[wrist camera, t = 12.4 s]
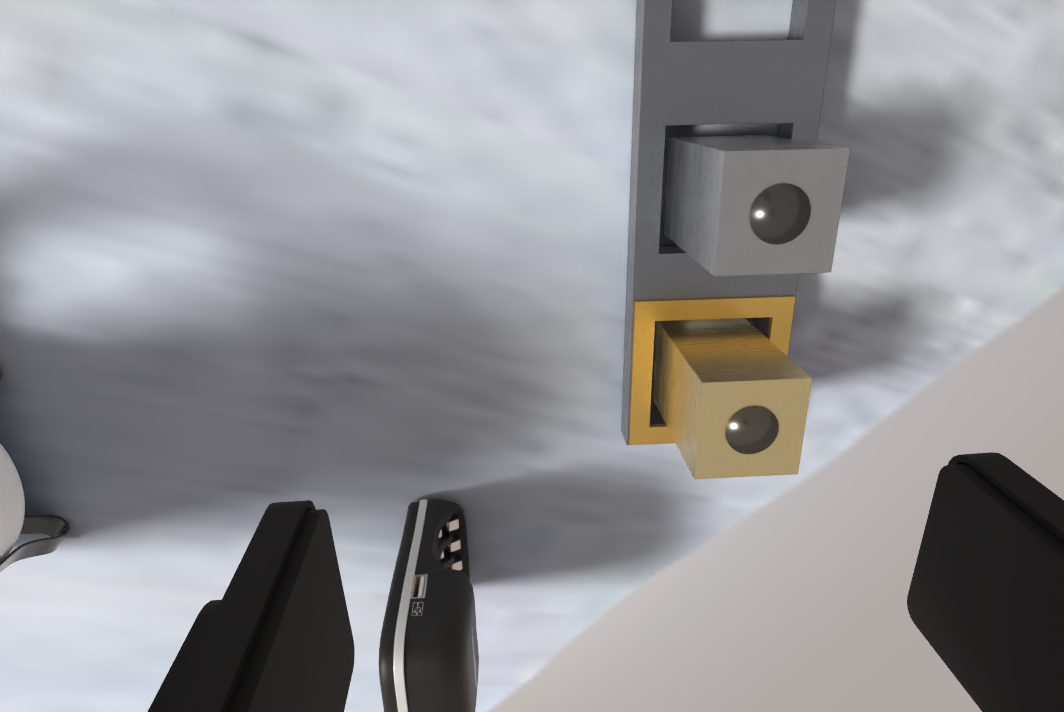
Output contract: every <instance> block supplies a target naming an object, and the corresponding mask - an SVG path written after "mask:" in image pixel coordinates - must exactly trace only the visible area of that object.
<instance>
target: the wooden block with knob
mask: <svg viewBox="0 0 1064 712" xmlns="http://www.w3.org/2000/svg"><path fill="white" fill-rule="evenodd" d="M811 383H812V378H811V377H810V376H809V375H808V374H807V373H806V372H805V371H804V370H802V369H801V368H800V367H799V366H798V365H797V364H796V363H795V362H793V361H792V360H791V359H790V358H789V357H788V356H787V355H786V354H785V353H783V352H782V351H781V350H780V349H779V348H778V347H777V346H776V345H774V344H773V343H772V342H771V341H770V340H769V339H768V338H767V337H765V336H764V335H763V334H762V333H761V332H760V331H759V330H758V329H757V328H755V327H754V326H753V325H752V324H751V323H750V322H749V321H748V320H746V319H745V318H730V319H701V320H671V321H657V324H656V344H655V364H654V384H653V400H654V402H655V404H656V406H657V408H658V410H659V412H660V414H661V416H662V418H663V419H664V421H665V423H666V425H667V427H668V429H669V431H670V433H671V435H672V437H673V439H674V441H675V443H676V445H677V447H678V448H679V450H680V452H681V454H682V456H683V458H684V460H685V462H686V464H687V466H688V468H689V470H690V472H691V474H692V475H693V477H694V479H707V478H728V477H749V476H770V475H791V474H798V470H799V464H800V457H801V450H802V443H803V437H804V430H805V423H806V416H807V410H808V403H809V396H810V389H811Z"/></svg>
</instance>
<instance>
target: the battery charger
mask: <svg viewBox="0 0 1064 712" xmlns="http://www.w3.org/2000/svg"><path fill="white" fill-rule="evenodd" d="M469 579H470V575H469V558H468V546H467V531H466V521H465V515H464V511H463V509H462V508H461V507H460V506H459V505H457V504H455V503H452V502H447V501H439V500H438V501H428V500H427V499H426V500H420V501H418V502H412V503H410V505H409V507H408V512H407V517H406V522H405V527H404V532H403V536H402V541H401V545H400V549H399V553H398V557H397V561H396V566H395V570H394V574H393V579H392V583H391V588H390V593H389V597H388V602H387V607H386V612H385V617H384V622H383V627H382V633H381V639H380V648H379V676H380V685H381V692H382V699H383V706H384V712H475V707H476V696H477V683H478V665H479V656H478V642H477V633H476V615H475V600H474V592H473V587H472V585H471V583H470V580H469Z"/></svg>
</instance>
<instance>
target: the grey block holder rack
mask: <svg viewBox="0 0 1064 712" xmlns="http://www.w3.org/2000/svg"><path fill="white" fill-rule="evenodd" d="M835 2H836V0H793V4H792V13H791V22H790V31H789V39H788V40H757V41H698V42H670V34H671V15H672V0H637V12H636V40H635V67H634V95H633V123H632V151H631V178H630V206H629V234H628V262H627V289H626V317H625V345H624V373H623V400H622V428H621V431H622V433H623V436H624V439H625V441H626V444H627V445H642V444H667V443H675V441H674V439H673V437H672V435H671V433H670V431H669V429H668V427H667V425H666V423H665V421H664V419H663V418H662V416H661V414H660V412H659V410H652V411H650V406H651V387H652V369H653V350H654V332H655V321H671V320H701V319H730V318H757V320H756V328H757V329H758V330H759V331H760V332H761V333H762V334H763V335H764V336H765V337H767V338H768V339H769V340H770V341H771V342H772V343H773V344H774V345H776V346H777V347H778V348H779V349H780V350H781V351H782V352H783V353H785V354H786V355H787V356H788V349H789V342H790V334H791V327H792V320H793V312H794V305H795V298H796V290H797V283H798V275H799V273H794V274H762V275H730V276H713V275H712V274H711V273H710V272H709V271H707V270H706V269H705V268H704V267H703V266H701V265H700V264H699V263H698V262H697V261H695V260H694V259H693V258H692V257H691V256H689V255H688V254H687V253H686V252H685V251H683V250H682V249H681V248H680V247H679V246H659V239H660V220H661V201H662V183H663V164H664V145H665V127H666V125H708V124H754V123H779V127H778V136H777V137H780V138H786V139H793V140H799V141H806V142H812V143H817V135H818V128H819V120H820V113H821V106H822V98H823V91H824V84H825V76H826V69H827V61H828V54H829V47H830V39H831V32H832V25H833V17H834V10H835Z"/></svg>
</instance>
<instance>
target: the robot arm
mask: <svg viewBox="0 0 1064 712" xmlns="http://www.w3.org/2000/svg"><path fill="white" fill-rule="evenodd" d="M907 605H908V611H909V614H910V616H911V619H912V620H913V622H914V624H915V625H916V626H917V628H918V629H919V630H920V632H921V633H922V634H923V635H924V637H925V638H926V639H927V640H928V642H929V643H930V645H931V646H932V647H933V648H934V650H935V651H936V652H937V654H938V655H939V656H940V657H941V659H942V660H943V661H944V662H945V664H946V665H947V667H948V668H949V669H950V670H951V672H952V673H953V674H954V676H955V677H956V678H957V679H958V681H959V682H960V683H961V685H962V686H963V687H964V689H965V690H966V691H967V692H968V694H969V695H970V696H971V698H972V699H973V700H974V701H975V703H976V704H977V705H978V707H979V708H980V709H981V711H982V712H1064V500H1062V499H1061V498H1060V497H1058V496H1057V495H1056V494H1054V493H1053V492H1052V491H1050V490H1049V489H1048V488H1046V487H1045V486H1044V485H1042V484H1041V483H1040V482H1038V481H1037V480H1036V479H1034V478H1033V477H1032V476H1030V475H1029V474H1028V473H1026V472H1025V471H1024V470H1022V469H1021V468H1020V467H1018V466H1017V465H1015V464H1014V463H1013V462H1011V461H1010V460H1009V459H1008V458H1006V457H1005V456H1003V455H1001V454H999V453H978V454H964V455H957V456H955V457H953V458H952V459H951V460H950V461H949V463H948V465H947V466H944V467H943V468H942V469H941V470H940V473H939V475H938V479H937V483H936V487H935V491H934V495H933V499H932V503H931V507H930V511H929V515H928V519H927V523H926V527H925V530H924V534H923V538H922V542H921V546H920V550H919V554H918V558H917V562H916V566H915V569H914V573H913V577H912V581H911V585H910V589H909V593H908V598H907ZM353 666H354V641H353V636H352V631H351V626H350V621H349V616H348V611H347V606H346V601H345V596H344V591H343V586H342V581H341V576H340V571H339V566H338V561H337V556H336V551H335V546H334V541H333V536H332V531H331V526H330V521H329V517H328V513H327V511H326V510H324V509H321V510H316V509H315V506H314V504H313V502H312V501H310V500H307V501H293V502H279V503H272V504H270V505H269V506H268V508H267V509H266V511H265V513H264V515H263V517H262V519H261V521H260V523H259V525H258V527H257V529H256V531H255V533H254V535H253V537H252V540H251V542H250V544H249V546H248V548H247V550H246V552H245V554H244V556H243V558H242V560H241V562H240V564H239V566H238V568H237V570H236V572H235V574H234V576H233V578H232V580H231V582H230V584H229V586H228V588H227V590H226V592H225V594H224V596H223V599H222V600H213V601H210V602H209V603H207V604H206V605H204V607H203V608H202V610H201V611H200V613H199V614H198V616H197V618H196V620H195V622H194V624H193V626H192V628H191V630H190V632H189V633H188V635H187V637H186V639H185V641H184V643H183V645H182V647H181V649H180V651H179V653H178V655H177V656H176V658H175V660H174V662H173V664H172V666H171V668H170V670H169V672H168V674H167V676H166V678H165V679H164V681H163V683H162V685H161V687H160V689H159V691H158V693H157V695H156V697H155V699H154V701H153V702H152V704H151V706H150V708H149V710H148V712H344V709H345V704H346V699H347V695H348V690H349V686H350V681H351V676H352V672H353Z"/></svg>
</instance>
